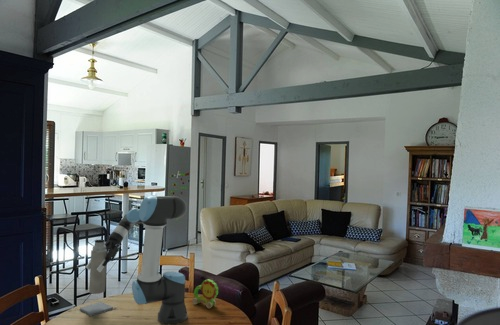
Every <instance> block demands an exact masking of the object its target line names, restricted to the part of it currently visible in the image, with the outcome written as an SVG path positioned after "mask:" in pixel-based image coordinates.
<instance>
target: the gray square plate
mask: <svg viewBox="0 0 500 325" xmlns="http://www.w3.org/2000/svg"><path fill="white" fill-rule="evenodd" d="M113 309H114V308H113V306H111V305H109V304H107V303H105V302H103V301H98V302H95V303H92V304H88V305H85V306H82V307H80V308H79V310H80V311H81V312H83V313H84V314H86V315H89V316H90V317H93V316H96V315H99V314H102V313H106V312H109V311H112V310H113Z"/></svg>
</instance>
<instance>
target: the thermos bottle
mask: <svg viewBox="0 0 500 325" xmlns="http://www.w3.org/2000/svg"><path fill="white" fill-rule="evenodd" d="M104 242H105V239H95V240H94V245H93V246H92V250H91V252H90V260H91V266H90V270H89V271H90V272H89V288H88V292H89V294H92V295H99V294H102V293H105V291H106V282H107V281H106V280H107V279H106V278H107V277H106V276H107V265H106V266H105V267H104V268H103V269H102V271H101V272H99V271H98V270H97V268H98V267H99V265H100V264H101V263H102V261H103V260H104V259H105V258H106V256H107V254H108V250H106V246H105V245H104ZM105 260H106V259H105Z"/></svg>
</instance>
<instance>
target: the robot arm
mask: <svg viewBox="0 0 500 325" xmlns="http://www.w3.org/2000/svg"><path fill="white" fill-rule="evenodd" d="M187 208H188V206H187V203H186V201H185V200H184V199H183V198H181V197H179V196H175V195H167V196H166V195H161V196H160V195H153V196H146V197H144V198H143V199H142V201H141V203H140V206H139V208H132V209H129V211H128V212H126V213H125V214H124V216H123V217H122V219H121V220H120V221H119V223H118V224H117V225H116V226H115V227H114V229H113V231H112V232H111V233H110V234H109V236H108V239H107V241H104V245H105V246H106V250H107V256H106V258H105V259H106V260H105V259H104V260H103V261H102V263H101V264H100V265H99V267H98V268H97V270H98V271H99V272H101V271H102V269H103V268H104V267H105V266H106V267H107V265H108V263H109V262H113V261H114V259H115V258H116V256H117V254H118V252H119V250H120V249H121V248H122V245H121V243H122V241H123V240H124V238H126V237H127V234H128V233H129V231H130V230H131V229H132V227H133V226H134V225H136V224H142V225H144V226H145V227H144V237H143V245H142V246H143V247H142V258H141V259H142V260H141V269H140V272H139V273H138V274H137V277H136V280H133V281H132V284H131V291H132V295H133V296H132V297H133V300H134V302H135V303H136V304H137V305H148V304H152V303H156V302H157V303H158V302H161V305H160V308H159V310H158V312H157V321H158V322H159V323H161V324H167V325H174V324H180V323H182V322H185V321H186V320H187V319H188V311H187V307H186V304H185V300H186V296H185V294H186V276H185V274H183V273H181V272H179V271H178V272H177V271H165V272H163V273H162V274H160V262H161V253H162V244H163V234H164V228H165V227H166V226H167V225H168V221H169V220H177V219H181V218H182V217H184V216H185V214H186V213H187V210H188V209H187ZM90 266H91V259H90V260H89V262H88V263H87V264H86V266H85V268H86V269H87V270H88V271H90Z"/></svg>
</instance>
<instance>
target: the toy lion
mask: <svg viewBox="0 0 500 325" xmlns="http://www.w3.org/2000/svg"><path fill="white" fill-rule="evenodd" d="M199 290H200V291H201V293H202V294H201V295H199ZM218 294H219V286H218V284H217V283H216V282H215V280H213V279H209V278H208V279H205V280H203V281H202V282H201V284H200V285H197V286H196V287H195V288H194V290H193V298H192V300H191V301H192V304H193V305H194V306H195V305H198V304H201V303H203V304H205V307H206V308H207V309H208V310H209V309H211V308H212V307H214V306H216V304H217V301H216V300H215V299H216V298H217V297H218Z"/></svg>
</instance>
